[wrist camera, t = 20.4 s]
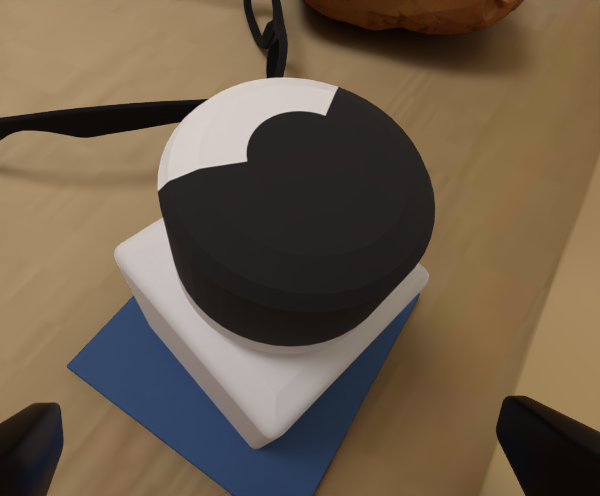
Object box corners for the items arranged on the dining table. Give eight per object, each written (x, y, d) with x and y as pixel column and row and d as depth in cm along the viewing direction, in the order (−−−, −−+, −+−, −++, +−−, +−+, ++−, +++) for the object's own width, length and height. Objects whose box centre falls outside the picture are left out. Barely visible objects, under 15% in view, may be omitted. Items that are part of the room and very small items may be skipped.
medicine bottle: (369, 335, 20) (537, 183, 9) (255, 454, 17) (307, 429, 6) (267, 232, 21) (308, 3, 11) (146, 322, 18) (40, 126, 8)
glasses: (288, 180, 25) (307, 119, 20) (-67, 178, 20) (-139, 99, 16) (260, 3, 32) (269, -69, 28) (-6, -26, 28) (-44, -118, 23)
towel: (415, 298, 22) (420, 293, 21) (287, 536, 16) (289, 539, 15) (242, 186, 23) (243, 179, 23) (70, 369, 18) (65, 366, 17)
